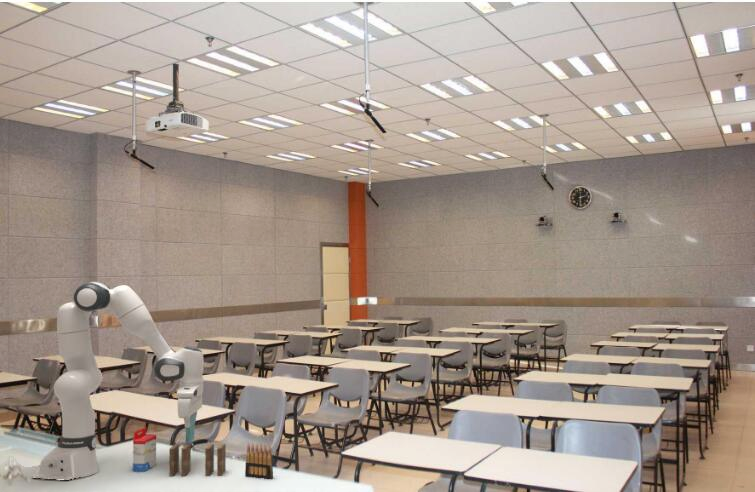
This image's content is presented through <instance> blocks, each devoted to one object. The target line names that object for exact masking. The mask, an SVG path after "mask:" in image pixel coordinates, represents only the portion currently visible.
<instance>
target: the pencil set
mask: <svg viewBox="0 0 755 492" xmlns="http://www.w3.org/2000/svg"><path fill="white" fill-rule="evenodd" d="M272 457H273V456H272V448H271V445H270V444H269V445H268V448H267V445H266V444H265V445H264V446H263V445H262V444H260V446H259V445H258V443H256V444H255V445H254V443H251V445H250V443H249V442H248V443H247V445H246V457H245V461H246V462H245V470H244V476H245V477H246V478H253V479H254V477H255V479H261V478H264V479H263V480H269V479H271V480H272V479H274V470H273V469H274V465H273V458H272Z"/></svg>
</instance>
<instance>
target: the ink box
mask: <svg viewBox="0 0 755 492" xmlns="http://www.w3.org/2000/svg"><path fill="white" fill-rule="evenodd" d="M132 440H133V441H132V454H133V455H132V471H133V472H142V473H143V472H144V473H145V472H146V471H148V470H149V469H151V468H153V467H155V466H156V465H157V434H147V427H146V426H145V427H142V428H140V429H139V428H138V429H137V430H135V431H134V432H133V439H132Z"/></svg>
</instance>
